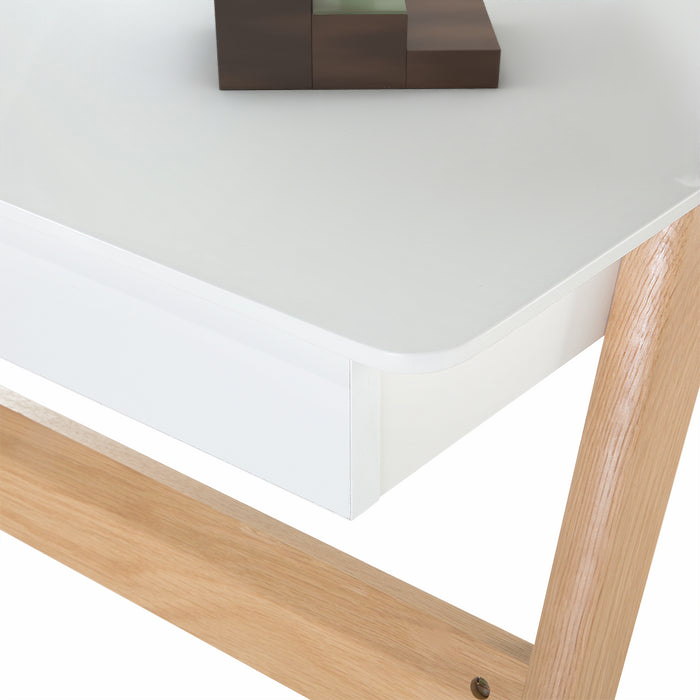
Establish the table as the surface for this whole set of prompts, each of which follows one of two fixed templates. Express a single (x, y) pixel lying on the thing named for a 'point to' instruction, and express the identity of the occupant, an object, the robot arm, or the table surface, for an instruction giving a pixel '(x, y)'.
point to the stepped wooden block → (355, 44)
